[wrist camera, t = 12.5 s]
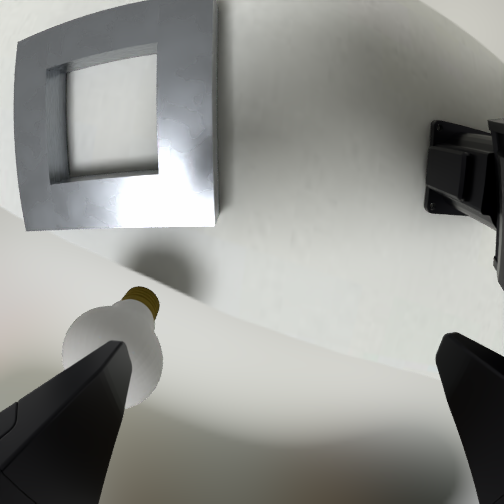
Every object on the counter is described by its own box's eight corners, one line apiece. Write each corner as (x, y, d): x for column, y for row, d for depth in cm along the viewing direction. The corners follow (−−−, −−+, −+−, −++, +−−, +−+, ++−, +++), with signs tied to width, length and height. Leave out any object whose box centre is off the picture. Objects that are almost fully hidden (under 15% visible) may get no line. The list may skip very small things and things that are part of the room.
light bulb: (111, 251, 21) (35, 333, 11) (189, 271, 21) (150, 372, 12) (109, 318, 23) (54, 408, 14) (179, 336, 23) (148, 441, 14)
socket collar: (218, 7, 14) (213, -9, 12) (219, 214, 20) (214, 226, 17) (37, 47, 15) (17, 42, 12) (44, 220, 20) (26, 231, 17)
